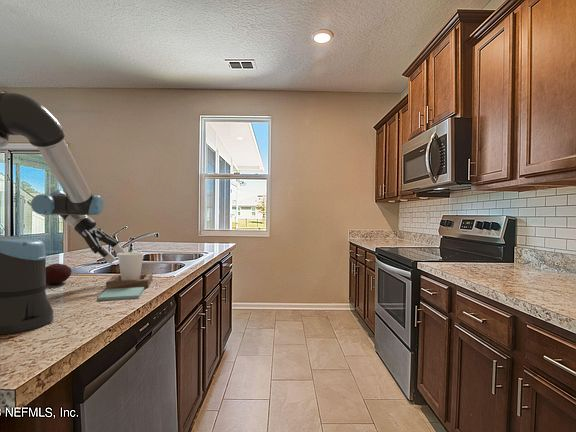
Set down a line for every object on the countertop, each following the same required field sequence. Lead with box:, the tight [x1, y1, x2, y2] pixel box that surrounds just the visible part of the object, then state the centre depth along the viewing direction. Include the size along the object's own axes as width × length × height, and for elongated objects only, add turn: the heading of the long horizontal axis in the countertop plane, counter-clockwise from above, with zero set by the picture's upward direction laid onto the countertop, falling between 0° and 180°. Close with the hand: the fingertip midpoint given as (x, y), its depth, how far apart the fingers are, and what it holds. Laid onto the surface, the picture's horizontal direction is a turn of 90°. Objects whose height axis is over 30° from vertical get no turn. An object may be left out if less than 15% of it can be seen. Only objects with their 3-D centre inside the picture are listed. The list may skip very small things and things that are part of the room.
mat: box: [96, 287, 145, 302], centre depth 118 cm, size 13×13×1 cm
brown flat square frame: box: [105, 272, 154, 290], centre depth 134 cm, size 15×15×3 cm
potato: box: [45, 263, 72, 285], centre depth 135 cm, size 12×11×8 cm
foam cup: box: [117, 251, 144, 280], centre depth 134 cm, size 10×9×13 cm
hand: (120, 259), depth 135 cm, fingers open, 13 cm apart
